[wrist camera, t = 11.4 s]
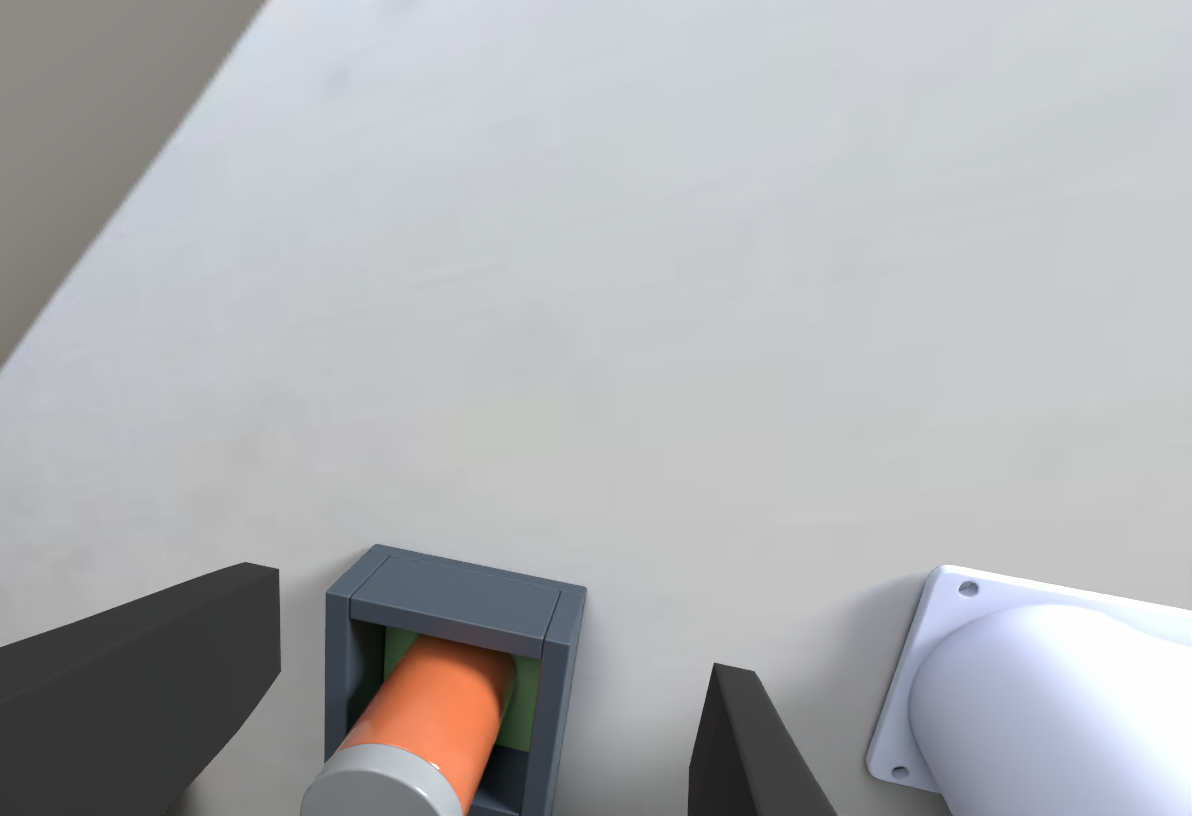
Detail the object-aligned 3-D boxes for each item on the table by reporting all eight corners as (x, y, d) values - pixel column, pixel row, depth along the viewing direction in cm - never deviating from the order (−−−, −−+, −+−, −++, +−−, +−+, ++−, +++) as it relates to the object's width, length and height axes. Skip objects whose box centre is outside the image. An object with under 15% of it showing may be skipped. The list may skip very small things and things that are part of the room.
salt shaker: (524, 631, 19) (458, 791, 13) (512, 728, 20) (447, 913, 15) (409, 606, 20) (297, 751, 14) (404, 702, 21) (298, 873, 15)
